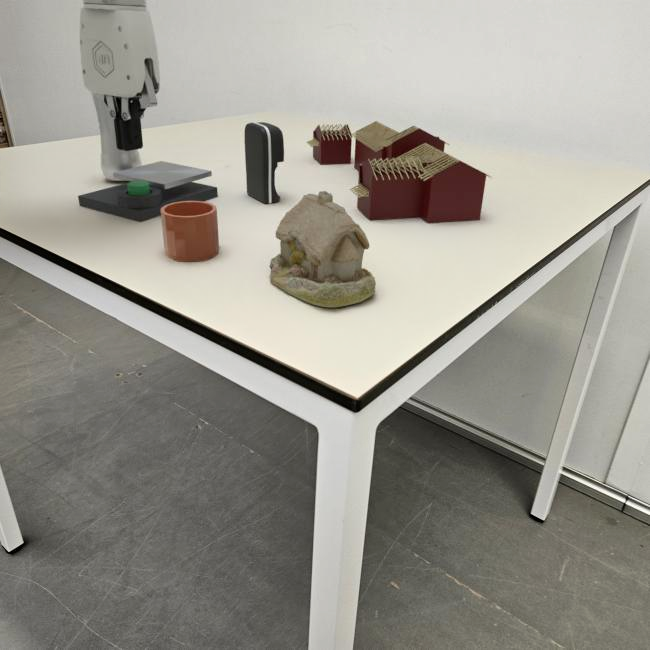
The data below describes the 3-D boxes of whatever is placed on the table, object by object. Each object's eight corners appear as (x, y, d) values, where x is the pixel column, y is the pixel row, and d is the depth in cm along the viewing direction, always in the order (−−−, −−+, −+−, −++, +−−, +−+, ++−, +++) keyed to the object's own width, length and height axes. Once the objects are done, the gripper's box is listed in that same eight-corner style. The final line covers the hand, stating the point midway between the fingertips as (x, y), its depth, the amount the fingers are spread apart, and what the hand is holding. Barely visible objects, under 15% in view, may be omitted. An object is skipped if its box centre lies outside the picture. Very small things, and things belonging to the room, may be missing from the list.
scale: (140, 222, 83) (137, 200, 82) (79, 206, 90) (75, 184, 88) (218, 197, 95) (216, 177, 94) (159, 184, 102) (157, 164, 100)
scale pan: (165, 189, 87) (164, 184, 87) (113, 177, 92) (112, 172, 92) (212, 176, 94) (211, 170, 94) (161, 165, 100) (161, 160, 99)
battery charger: (287, 202, 94) (287, 126, 88) (265, 205, 92) (264, 128, 87) (266, 191, 99) (265, 119, 94) (245, 194, 97) (242, 120, 92)
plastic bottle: (96, 179, 103) (76, 51, 94) (133, 173, 107) (118, 50, 98) (113, 187, 99) (94, 54, 90) (150, 181, 103) (136, 53, 94)
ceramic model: (251, 268, 70) (248, 182, 65) (334, 252, 75) (336, 172, 70) (311, 317, 59) (313, 219, 55) (402, 294, 65) (411, 203, 60)
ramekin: (193, 266, 70) (189, 220, 68) (153, 254, 73) (148, 210, 71) (230, 250, 75) (227, 206, 73) (191, 239, 78) (188, 197, 76)
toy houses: (496, 218, 89) (508, 148, 84) (364, 226, 84) (368, 153, 80) (392, 153, 127) (396, 102, 123) (297, 156, 123) (297, 103, 118)
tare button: (138, 198, 84) (137, 187, 83) (124, 195, 85) (122, 184, 85) (155, 193, 86) (153, 183, 85) (140, 190, 88) (139, 179, 87)
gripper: (49, -7, 75) (71, 145, 83) (133, -3, 68) (147, 161, 76) (99, -4, 80) (115, 137, 89) (181, 0, 74) (189, 153, 82)
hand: (130, 148), depth 83 cm, fingers closed
